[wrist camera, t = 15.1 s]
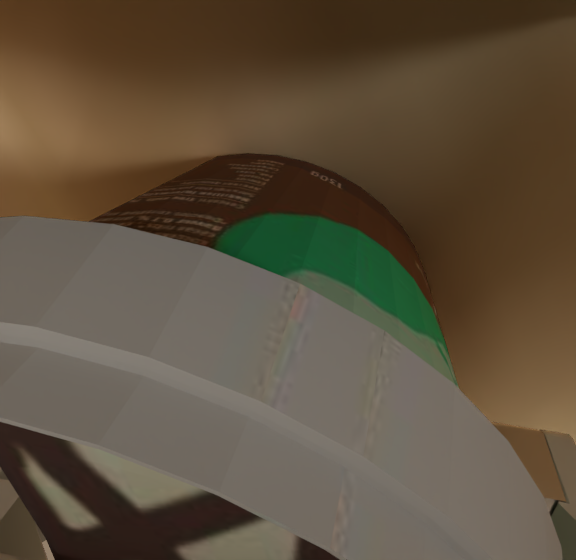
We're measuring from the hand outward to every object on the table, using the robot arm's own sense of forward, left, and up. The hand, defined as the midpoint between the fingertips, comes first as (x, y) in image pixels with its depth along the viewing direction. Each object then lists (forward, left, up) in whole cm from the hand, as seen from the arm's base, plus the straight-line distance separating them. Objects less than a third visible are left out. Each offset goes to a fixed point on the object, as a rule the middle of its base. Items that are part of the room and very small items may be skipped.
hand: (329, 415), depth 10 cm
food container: (0, 0, -5) cm, 5 cm away
